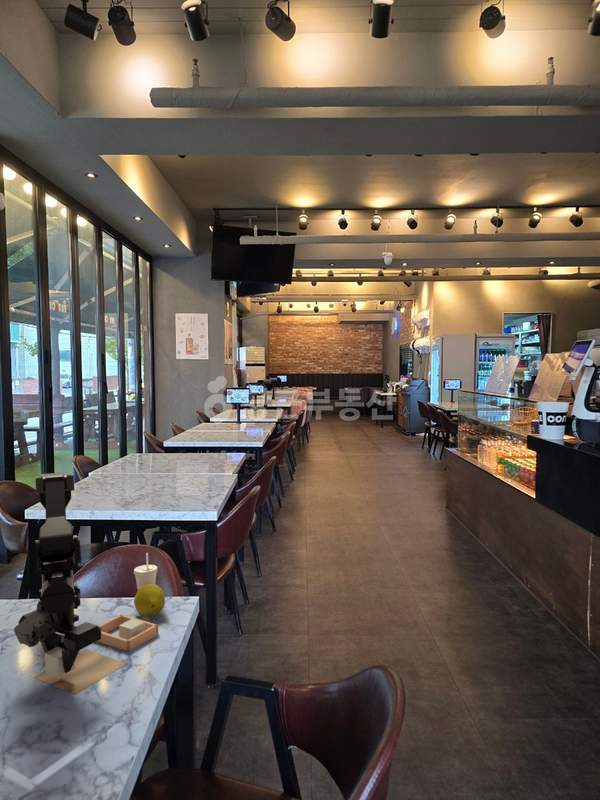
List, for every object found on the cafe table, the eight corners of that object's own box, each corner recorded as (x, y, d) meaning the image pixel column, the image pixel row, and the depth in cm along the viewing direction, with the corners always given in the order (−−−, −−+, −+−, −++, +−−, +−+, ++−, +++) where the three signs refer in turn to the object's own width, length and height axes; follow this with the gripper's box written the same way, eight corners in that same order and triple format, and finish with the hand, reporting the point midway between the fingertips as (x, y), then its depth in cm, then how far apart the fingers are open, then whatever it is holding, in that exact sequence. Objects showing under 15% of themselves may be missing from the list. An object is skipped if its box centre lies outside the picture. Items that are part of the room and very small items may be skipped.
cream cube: (119, 642, 127) (119, 625, 127) (132, 634, 130) (132, 618, 130) (131, 646, 125) (131, 629, 125) (144, 638, 128) (144, 622, 128)
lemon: (136, 608, 147) (135, 579, 146) (165, 605, 148) (165, 577, 148) (132, 626, 136) (131, 595, 136) (164, 623, 138) (163, 592, 137)
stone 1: (45, 672, 109) (44, 653, 109) (62, 663, 113) (62, 644, 113) (58, 677, 107) (57, 658, 107) (75, 668, 111) (74, 649, 111)
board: (33, 681, 111) (33, 677, 111) (86, 653, 123) (86, 649, 123) (75, 699, 105) (75, 694, 105) (127, 668, 116) (126, 663, 116)
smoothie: (151, 608, 146) (149, 557, 146) (130, 606, 148) (128, 555, 147) (162, 599, 153) (161, 550, 152) (142, 597, 154) (140, 548, 154)
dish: (90, 643, 128) (90, 629, 128) (121, 626, 136) (121, 614, 136) (128, 655, 122) (127, 641, 121) (158, 638, 130) (158, 624, 130)
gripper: (-9, 599, 107) (-6, 676, 108) (52, 619, 98) (54, 703, 98) (42, 580, 117) (45, 651, 117) (102, 597, 107) (104, 673, 108)
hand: (60, 669), depth 110 cm, fingers closed on stone 1, 4 cm apart
